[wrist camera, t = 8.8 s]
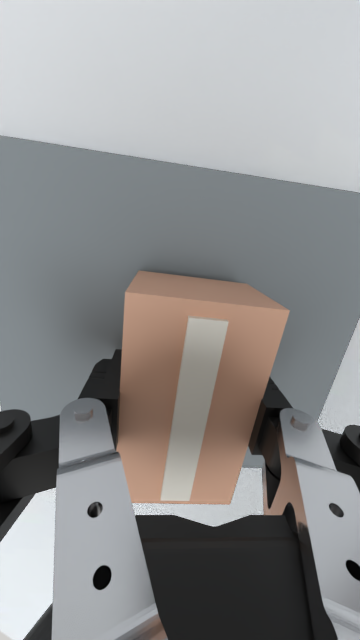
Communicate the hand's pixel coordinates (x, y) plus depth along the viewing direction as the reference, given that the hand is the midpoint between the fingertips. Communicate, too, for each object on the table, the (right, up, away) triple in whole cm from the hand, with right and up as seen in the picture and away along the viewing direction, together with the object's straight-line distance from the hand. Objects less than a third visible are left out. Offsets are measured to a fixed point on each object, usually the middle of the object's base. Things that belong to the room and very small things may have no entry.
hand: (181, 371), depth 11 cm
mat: (0, +1, +2) cm, 2 cm away
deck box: (0, 0, +1) cm, 1 cm away
